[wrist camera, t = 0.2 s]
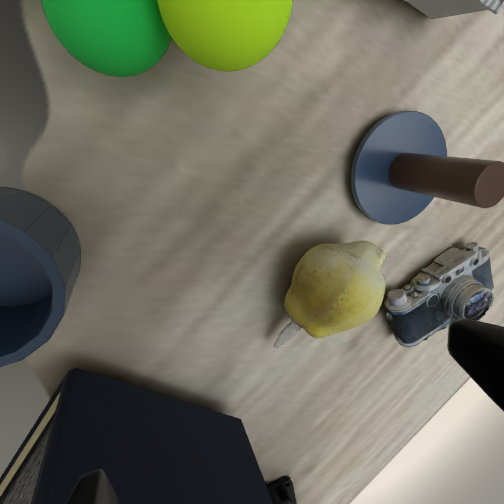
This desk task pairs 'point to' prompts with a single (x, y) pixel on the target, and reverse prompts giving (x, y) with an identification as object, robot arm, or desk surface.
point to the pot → (33, 271)
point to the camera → (442, 295)
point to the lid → (417, 171)
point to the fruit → (334, 289)
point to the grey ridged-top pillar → (454, 7)
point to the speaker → (133, 448)
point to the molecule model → (167, 31)
